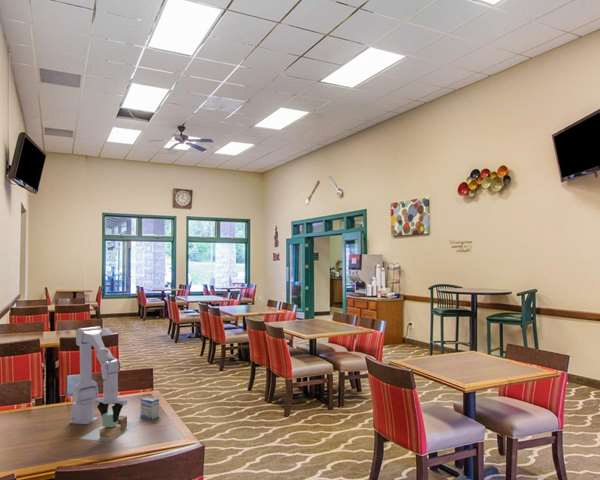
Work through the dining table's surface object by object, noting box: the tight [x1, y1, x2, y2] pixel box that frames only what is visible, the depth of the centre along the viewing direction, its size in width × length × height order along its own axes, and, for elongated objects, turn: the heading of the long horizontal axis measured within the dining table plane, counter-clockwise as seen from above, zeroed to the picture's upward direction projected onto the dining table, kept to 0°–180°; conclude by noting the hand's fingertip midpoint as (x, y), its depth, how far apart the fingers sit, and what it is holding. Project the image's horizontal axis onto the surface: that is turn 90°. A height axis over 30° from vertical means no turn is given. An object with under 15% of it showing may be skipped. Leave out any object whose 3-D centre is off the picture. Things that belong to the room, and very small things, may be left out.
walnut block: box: [118, 415, 128, 431], centre depth 204 cm, size 4×4×5 cm
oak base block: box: [100, 424, 121, 438], centre depth 197 cm, size 6×6×4 cm
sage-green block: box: [101, 410, 118, 427], centre depth 197 cm, size 4×4×5 cm
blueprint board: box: [79, 420, 140, 442], centre depth 203 cm, size 15×22×1 cm
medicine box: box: [140, 396, 160, 420], centre depth 220 cm, size 8×4×9 cm, turn 62°
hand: (110, 421), depth 197 cm, fingers closed on sage-green block, 4 cm apart
